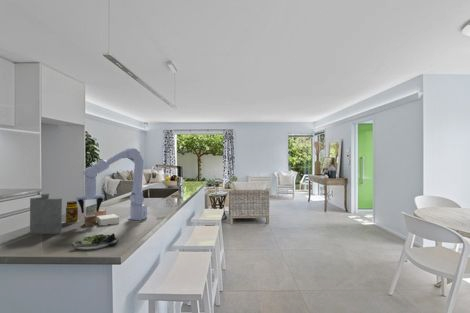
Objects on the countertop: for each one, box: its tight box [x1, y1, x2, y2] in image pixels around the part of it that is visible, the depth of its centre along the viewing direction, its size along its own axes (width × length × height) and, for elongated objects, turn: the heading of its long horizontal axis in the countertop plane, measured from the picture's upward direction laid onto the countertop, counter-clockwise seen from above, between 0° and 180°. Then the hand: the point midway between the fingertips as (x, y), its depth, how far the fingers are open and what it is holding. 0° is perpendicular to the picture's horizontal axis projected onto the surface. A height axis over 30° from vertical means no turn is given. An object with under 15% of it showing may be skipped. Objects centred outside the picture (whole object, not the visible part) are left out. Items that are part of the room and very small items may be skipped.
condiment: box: [62, 200, 82, 224], centre depth 167 cm, size 7×8×12 cm
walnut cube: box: [84, 214, 97, 227], centre depth 162 cm, size 5×5×5 cm
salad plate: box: [69, 233, 119, 251], centre depth 127 cm, size 19×18×5 cm
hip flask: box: [29, 193, 63, 235], centre depth 144 cm, size 16×4×20 cm, turn 87°
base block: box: [96, 213, 120, 227], centre depth 166 cm, size 10×10×4 cm
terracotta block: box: [94, 208, 107, 220], centre depth 178 cm, size 5×5×5 cm
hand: (90, 212), depth 162 cm, fingers open, 7 cm apart
